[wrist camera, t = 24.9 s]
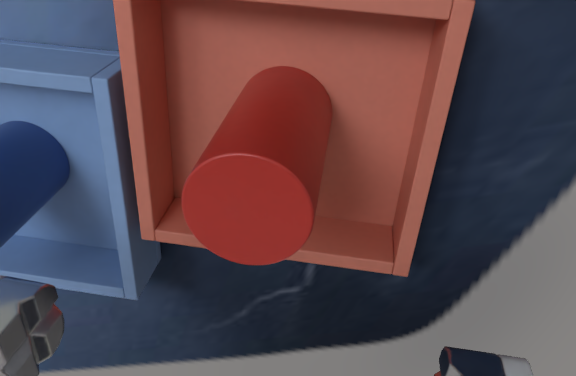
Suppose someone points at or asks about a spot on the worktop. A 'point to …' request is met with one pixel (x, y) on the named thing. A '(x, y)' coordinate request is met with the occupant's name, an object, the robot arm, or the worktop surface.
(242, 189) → the red peg
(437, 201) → the worktop surface
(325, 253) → the red bin
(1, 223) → the blue peg
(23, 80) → the blue bin
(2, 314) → the robot arm
